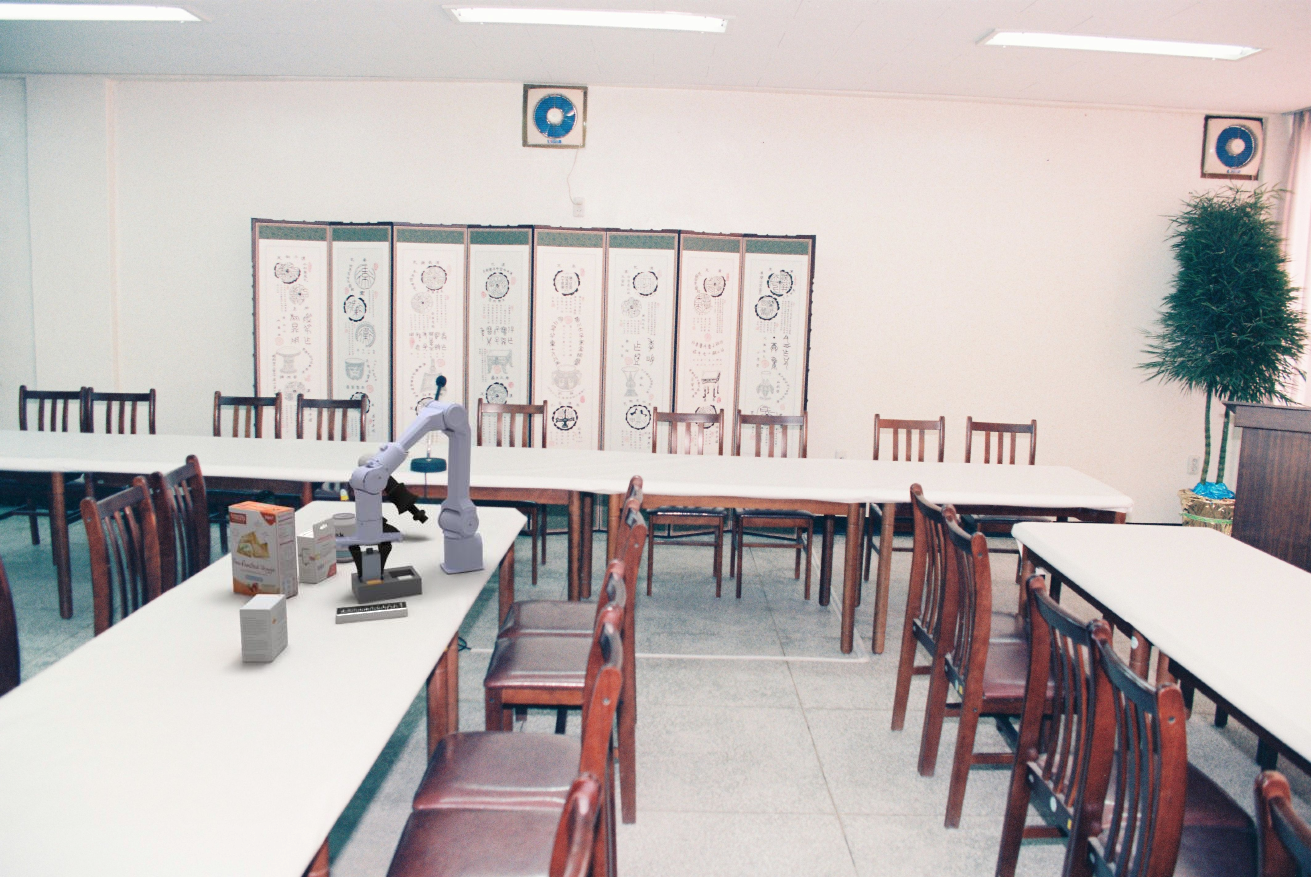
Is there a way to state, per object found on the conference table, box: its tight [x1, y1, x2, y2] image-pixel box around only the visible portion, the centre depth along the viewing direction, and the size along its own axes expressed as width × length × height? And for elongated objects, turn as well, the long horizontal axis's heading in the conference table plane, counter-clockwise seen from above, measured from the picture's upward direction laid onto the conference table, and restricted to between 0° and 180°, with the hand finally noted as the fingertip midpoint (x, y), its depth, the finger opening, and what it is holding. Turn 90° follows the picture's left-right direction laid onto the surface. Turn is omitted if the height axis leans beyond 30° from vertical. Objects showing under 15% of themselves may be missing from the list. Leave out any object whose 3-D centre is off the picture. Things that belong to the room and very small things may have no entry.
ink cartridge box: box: [296, 516, 338, 584], centre depth 189 cm, size 9×5×15 cm, turn 168°
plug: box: [360, 547, 381, 583], centre depth 179 cm, size 4×4×9 cm
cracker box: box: [228, 500, 299, 600], centre depth 176 cm, size 14×6×21 cm, turn 70°
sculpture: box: [357, 452, 429, 547], centre depth 222 cm, size 15×24×25 cm, turn 88°
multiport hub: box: [335, 601, 408, 624], centre depth 167 cm, size 4×14×2 cm, turn 111°
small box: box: [239, 594, 289, 663], centre depth 147 cm, size 8×6×10 cm
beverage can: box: [331, 512, 356, 563], centre depth 203 cm, size 7×7×12 cm
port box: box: [350, 565, 423, 604], centre depth 181 cm, size 14×10×4 cm
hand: (370, 574), depth 179 cm, fingers closed on plug, 4 cm apart
